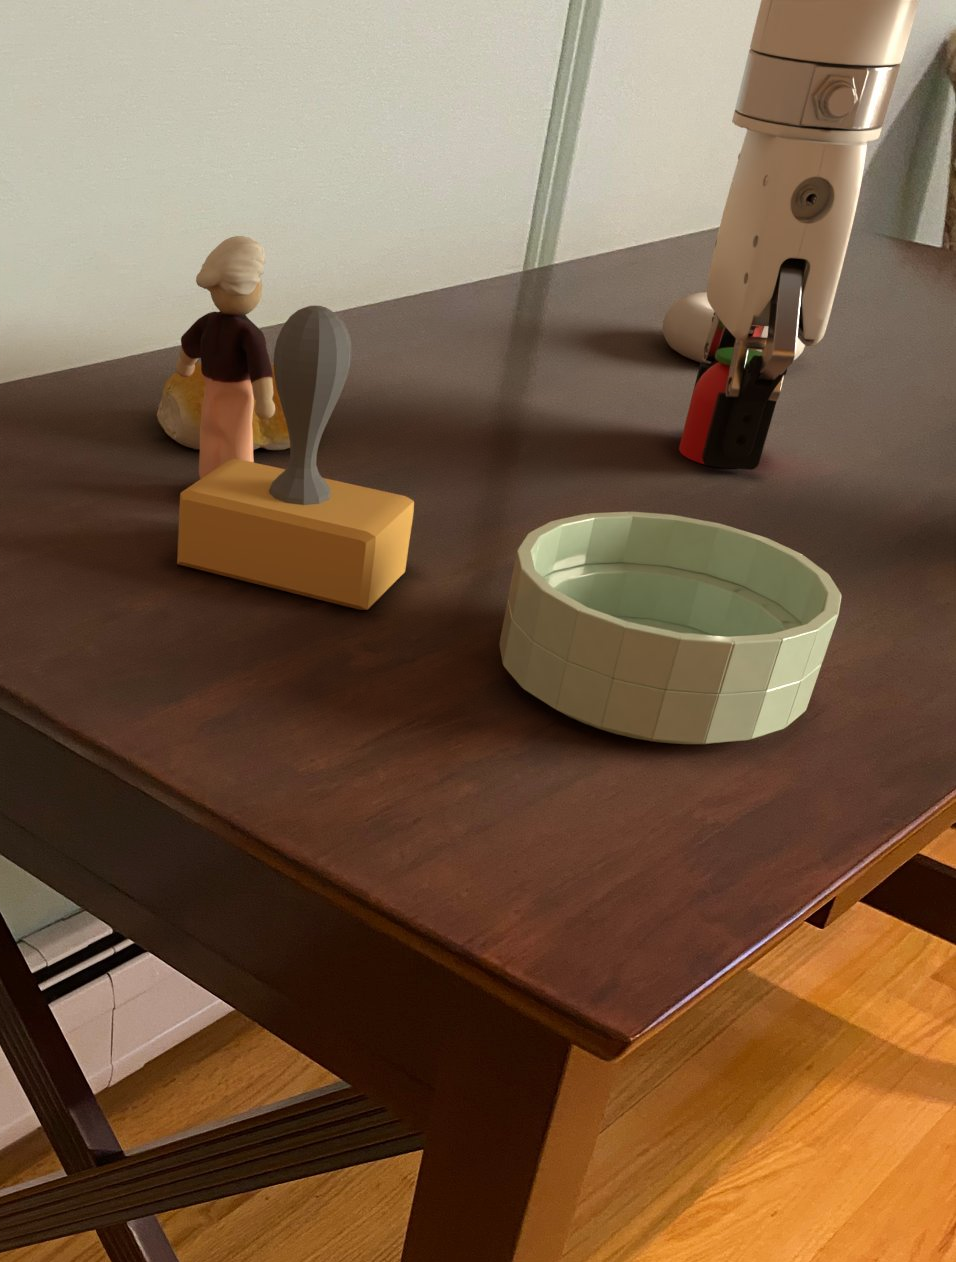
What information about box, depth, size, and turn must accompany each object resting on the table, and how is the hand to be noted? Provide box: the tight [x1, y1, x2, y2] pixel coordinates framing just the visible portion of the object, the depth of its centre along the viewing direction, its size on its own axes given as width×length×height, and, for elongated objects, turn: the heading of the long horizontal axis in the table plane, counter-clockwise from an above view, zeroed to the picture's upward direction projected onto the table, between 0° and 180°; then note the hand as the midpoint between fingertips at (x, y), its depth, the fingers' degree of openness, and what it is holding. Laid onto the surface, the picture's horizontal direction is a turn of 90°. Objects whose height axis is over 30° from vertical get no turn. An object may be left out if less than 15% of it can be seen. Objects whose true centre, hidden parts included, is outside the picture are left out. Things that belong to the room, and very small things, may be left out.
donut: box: [662, 291, 806, 364], centre depth 105 cm, size 10×4×10 cm
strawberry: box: [678, 347, 762, 469], centre depth 88 cm, size 5×5×6 cm
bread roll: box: [156, 363, 290, 451], centre depth 87 cm, size 8×9×4 cm
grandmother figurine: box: [175, 235, 275, 480], centre depth 76 cm, size 8×4×13 cm, turn 48°
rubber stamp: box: [176, 305, 415, 611], centre depth 69 cm, size 10×6×12 cm, turn 64°
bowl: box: [498, 511, 843, 745], centre depth 64 cm, size 13×13×5 cm
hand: (720, 446), depth 89 cm, fingers open, 4 cm apart
